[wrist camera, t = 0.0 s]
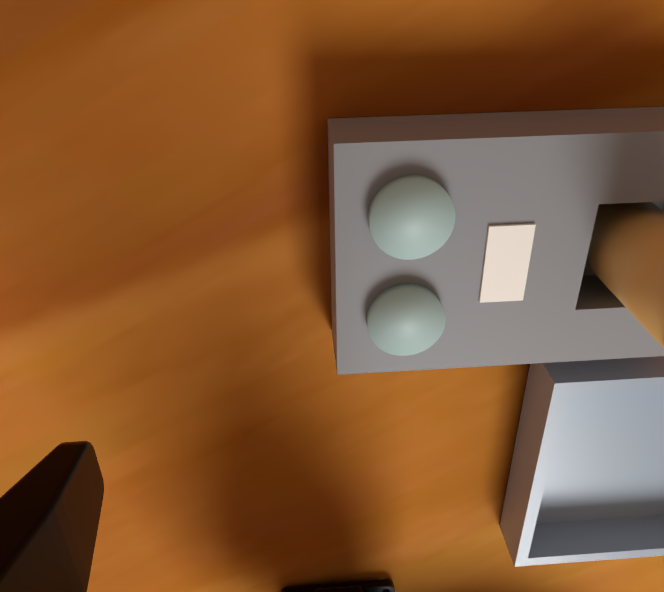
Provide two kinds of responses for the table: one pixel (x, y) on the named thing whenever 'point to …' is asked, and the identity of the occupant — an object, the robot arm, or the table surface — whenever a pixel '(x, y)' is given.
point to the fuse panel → (482, 236)
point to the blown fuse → (632, 259)
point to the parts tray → (588, 463)
